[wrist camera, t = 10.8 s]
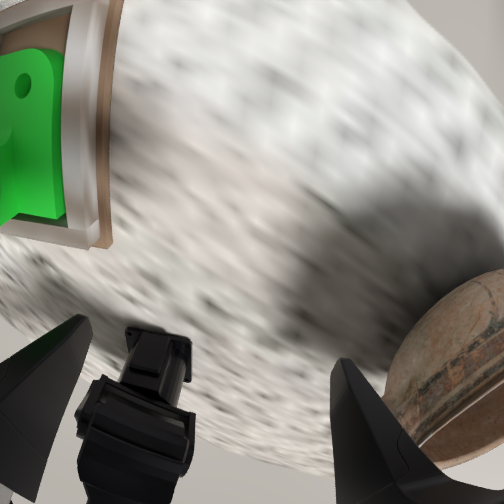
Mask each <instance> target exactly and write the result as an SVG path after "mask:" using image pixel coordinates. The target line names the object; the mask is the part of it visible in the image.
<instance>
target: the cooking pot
mask: <svg viewBox="0 0 504 504" xmlns="http://www.w3.org/2000/svg"><path fill="white" fill-rule="evenodd" d="M381 399H382V400H383V402H384V403H385V404H386V406H387V407H388V408H389V410H390V411H391V412H392V413H393V415H394V416H395V417H396V419H397V420H398V421H399V423H400V424H401V425H402V428H404V429H405V430H406V432H407V433H408V434H409V436H410V437H411V438H412V439H413V441H414V442H415V443H416V444H417V445H418V447H419V448H420V449H421V450H422V451H423V452H424V453H425V454H426V455H427V456H428V457H429V459H430V460H431V461H432V462H433V463H434V464H435V465H436V466H437V467H438V468H439V469H440V470H443V469H446V468H450V467H453V466H456V465H459V464H462V463H465V462H467V461H469V460H472V459H474V458H476V457H478V456H480V455H482V454H484V453H486V452H488V451H490V450H492V449H494V448H496V447H497V446H499V445H500V444H502V443H504V268H502V269H498V270H494V271H491V272H487V273H484V274H482V275H479V276H477V277H475V278H473V279H470V280H468V281H467V282H465V283H463V284H462V285H460V286H458V287H457V288H455V289H454V290H452V291H451V292H450V293H448V294H447V295H446V296H444V297H443V298H441V299H440V300H439V301H438V302H437V303H436V304H435V305H434V306H432V307H431V308H430V309H429V310H428V311H427V312H426V313H425V314H424V315H423V316H422V317H421V319H420V320H419V321H418V322H417V323H416V324H415V325H414V327H413V328H412V329H411V331H410V332H409V333H408V335H407V336H406V337H405V339H404V340H403V342H402V344H401V345H400V347H399V349H398V350H397V352H396V354H395V356H394V359H393V361H392V364H391V366H390V369H389V372H388V376H387V381H386V387H385V393H384V396H383V397H382V398H381Z"/></svg>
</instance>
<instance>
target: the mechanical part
mask: <svg viewBox="0 0 504 504" xmlns="http://www.w3.org/2000/svg"><path fill="white" fill-rule="evenodd" d="M64 61H65V57H64V56H63V55H62V54H61V53H60V52H59V51H57V50H54V49H25V50H21V51H17V52H14V53H10V54H7V55H3V56H0V227H1V226H2V225H3V224H4V223H6V222H7V221H9V220H10V219H11V218H13V217H14V216H15V215H17V214H18V213H24V214H30V215H35V216H41V217H46V218H52V219H58V218H59V217H60V216H62V215H63V214H64V213H66V206H65V197H64V185H63V172H62V151H61V105H62V85H63V72H64Z"/></svg>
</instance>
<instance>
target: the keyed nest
mask: <svg viewBox="0 0 504 504" xmlns="http://www.w3.org/2000/svg"><path fill="white" fill-rule="evenodd" d="M123 3H124V0H25V1H23V2H20V3H18V4H16V5H13V6H11V7H9V8H7V9H5V10H2V11H0V56H3V55H7V54H10V53H14V52H17V51H21V50H25V49H54V50H57V51H59V52H60V53H61V54H62V55H63V56H64V57H65V61H64V72H63V85H62V105H61V151H62V172H63V185H64V197H65V206H66V213H64V214H63V215H62V216H60V217H59V218H58V219H52V218H46V217H41V216H35V215H30V214H24V213H18V214H17V215H15V216H14V217H13V218H11V219H10V220H9V221H7V222H6V223H4V224H3V225H2V226H1V227H0V233H3V234H8V235H13V236H18V237H23V238H28V239H33V240H38V241H43V242H48V243H53V244H58V245H63V246H69V247H74V248H79V249H85V250H89V248H90V247H97V248H103V249H108V248H109V247H110V246H111V245H112V243H113V239H112V226H111V211H110V190H109V125H110V105H111V90H112V79H113V69H114V60H115V52H116V44H117V37H118V31H119V24H120V19H121V13H122V8H123Z"/></svg>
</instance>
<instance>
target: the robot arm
mask: <svg viewBox="0 0 504 504" xmlns="http://www.w3.org/2000/svg"><path fill="white" fill-rule="evenodd" d="M92 336H93V332H92V328H91V324H90V320H89V318H88V316H86V315H82V314H77V315H75V316H73V317H72V318H70V319H68V320H67V321H65V322H64V323H62V324H60V325H59V326H57V327H56V328H54V329H53V330H51V331H49V332H48V333H46V334H45V335H43V336H41V337H40V338H38V339H37V340H35V341H34V342H32V343H31V344H29V345H27V346H26V347H24V348H23V349H21V350H20V351H18V352H17V353H15V354H14V355H12V356H11V357H10V358H7V359H6V360H5V361H3V362H1V363H0V504H13V503H12V501H11V497H12V494H13V492H15V493H17V494H19V495H20V496H22V497H24V498H26V499H28V500H30V501H31V502H33V503H35V500H36V497H37V493H38V490H39V486H40V483H41V479H42V476H43V473H44V470H45V466H46V463H47V459H48V457H49V454H50V451H51V448H52V445H53V442H54V439H55V436H56V433H57V430H58V428H59V425H60V422H61V420H62V417H63V415H64V412H65V409H66V407H67V404H68V402H69V399H70V397H71V394H72V392H73V389H74V387H75V385H76V382H77V380H78V378H79V375H80V373H81V370H82V367H83V364H84V361H85V358H86V355H87V352H88V349H89V346H90V343H91V340H92ZM125 336H126V342H127V346H128V351H129V356H128V358H127V360H126V363H125V365H124V367H123V370H122V372H121V374H120V377H119V379H118V381H117V382H116V381H114V380H112V379H110V378H108V376H106V375H104V374H102V376H101V378H100V380H93V381H92V384H91V386H90V388H89V390H88V392H87V394H86V396H85V397H84V399H83V400H82V402H81V403H80V405H79V407H78V408H77V410H76V412H75V415H74V417H75V419H76V421H77V428H78V430H77V434H76V436H77V437H79V438H80V439H83V443H82V446H81V449H80V452H79V455H78V458H77V465H78V466H77V469H78V474H79V478H80V481H81V482H83V485H84V488H85V491H86V494H87V497H88V500H87V503H86V504H170V503H171V500H172V497H173V493H174V489H175V486H176V484H177V481H178V478H179V477H183V476H184V475H185V474H186V473H187V471H188V469H189V467H190V464H191V461H192V457H193V453H194V443H195V420H196V413H193V412H187V411H184V410H182V409H179V408H177V404H178V400H179V396H180V392H181V388H182V384H183V382H186V383H190V382H191V380H192V342H191V341H190V340H188V339H184V338H179V337H174V336H168V335H163V334H159V333H154V332H149V331H145V330H140V329H136V328H131V327H127V328H126V330H125ZM330 422H331V433H332V445H333V457H334V471H335V487H336V504H504V489H503V490H490V489H486V488H482V487H478V486H474V485H470V484H466V483H463V482H459V481H456V480H453V479H451V478H449V477H448V476H447V475H445V474H444V473H443V472H442V471H441V470H440V469H439V468H438V467H437V466H436V465H435V464H434V463H433V462H432V461H431V460H430V459H429V457H428V456H427V455H426V454H425V453H424V452H423V451H422V450H421V449H420V448H419V447H418V445H417V444H416V443H415V442H414V441H413V439H412V438H411V437H410V436H409V434H408V433H407V432H406V430H405V429H404V428H402V425H401V424H400V423H399V421H398V420H397V419H396V417H395V416H394V415H393V413H392V412H391V411H390V410H389V408H388V407H387V406H386V404H385V403H384V402H383V400H382V399H381V398H380V396H379V395H378V394H377V393H376V391H375V390H374V389H373V387H372V386H371V385H370V383H369V382H368V381H367V379H366V378H365V377H364V376H363V374H362V373H361V372H360V370H359V369H358V368H357V367H356V365H355V364H354V363H353V361H352V360H351V359H349V358H339V359H338V360H337V362H336V364H335V366H334V368H333V370H332V372H331V376H330Z"/></svg>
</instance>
